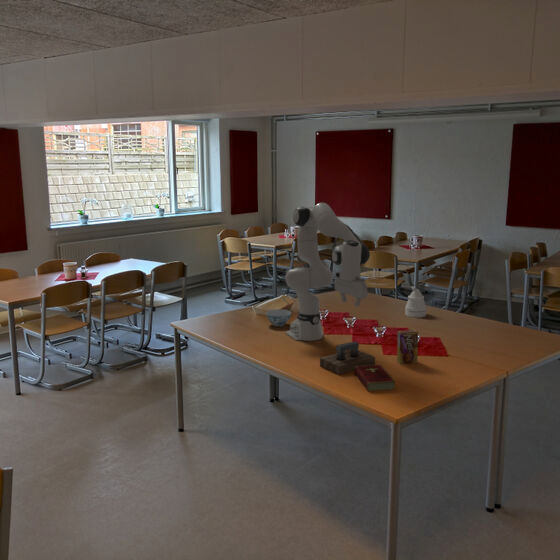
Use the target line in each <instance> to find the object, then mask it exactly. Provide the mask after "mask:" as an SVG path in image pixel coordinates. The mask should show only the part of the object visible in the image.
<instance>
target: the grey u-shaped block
mask: <svg viewBox="0 0 560 560" xmlns="http://www.w3.org/2000/svg"><path fill="white" fill-rule="evenodd" d="M359 347H360V345H359V342H357V341H350V342H346V343H340V344H336V348H335V350H336V354H337V360H339V361H342V360H345V352H346V351H350V356H351V357H353V358H354V357H358V350H359V349H360V348H359Z"/></svg>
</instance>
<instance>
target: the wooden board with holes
mask: <svg viewBox="0 0 560 560" xmlns="http://www.w3.org/2000/svg"><path fill="white" fill-rule="evenodd" d="M366 365H376V356H374V355H371V354H369V353H367V352H365V351H362V350H360V349H358V357H354V358H353V357H351V356H350V350H348V351H345V360H342V361H339V360H337V353H335V354H334V353H333V354H330V355H326V356H322V357H319V366H320V367H321V368H324V369H326V370H328V371H331V372H333V374H336V375H342V374H347V373H350V372H355V366H366Z"/></svg>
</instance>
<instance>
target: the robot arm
mask: <svg viewBox="0 0 560 560" xmlns="http://www.w3.org/2000/svg"><path fill="white" fill-rule="evenodd" d="M292 219H293V223H294V225H296V226H298V227H297V228H298V229H297V244H296V245H297V257H298V258H299V260H301V261H302V262H304V263H307V264H308V265H309V267H296V268H291V269H288V270H287V272H286V274H285V278H284V279H285V284H286V285H287V286H288V287H289V288H290V289H291V290H293V291H294V293H295V294H296V296H297V299H298V310H299V311H298V312H296V314H297V318H296V319H294V321H292V322H291V323H290V326H289V330H286V331H285V334H286V335H287V336H288V337H290V338H292V339H293V340H295V341H307V342H308V341H309V342H311V341H313V342H314V341H318V340H322V339H323V336H324V332H323V328H322V321H321V312H320V298H319V297H318V296H317V295H316V294H314V293H311V292H309V289H311V288H312V289H317V288H318V289H320V288H326V287H329V286H330V285H331V284H332V283H333V279H334V277H335V279H334V290H335V291H336V292H339V294H340V297H341V302H342V303H343V302H344V303H347V296H346V295H348V296H352V297H354V298H355V299H356V301H354V306H355V307H359V306H360V302H361V301H362V299H367V297H368V285H367V281H366V280H365V279H364V278H361V273H362V272H361V265H362V266H363V265H365V264H366V263H367V262H368V261H369V260H370V256H371V253H370V249H369V247H368V246H367V245H366V244H364V242H363V241H362V240H361V239H360V238H359V237H358V236H357V234H356V233H355V232H354V231H353V229H352V228H351V227H350V226H349V225H348V224H347V223H344V221H341V220H340V219H339V217H338V216H337V215H336V214H335V212H334V210H333V209H332V208H331V206H330V205H329V204H327V202H319V203H317V204H316V205H314V206H298V207H296V208H295V209H294V211H293V215H292ZM318 231H319V232H320V233H321V234H322V235H323V236H326V237H331V238H339V239H341V240H344V241H343V242H342V244H340V245H337V246H336V245H335V247H334V248H333V249H332V251H331V261H332V263H334V265H337V266H341V271H336V272H335V273H334V275H333V272H332V270H331V269H330V268H329V267H327V266H326V265H325V264H324V263H323V261H322V260H321V257H320V253H319V241H318Z"/></svg>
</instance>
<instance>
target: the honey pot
mask: <svg viewBox="0 0 560 560" xmlns="http://www.w3.org/2000/svg"><path fill="white" fill-rule="evenodd" d="M410 288H411V290H412V292H411V293H410V295H408V296H407V302H406V304H405V309H404V310H405V311H404V315H405V316H406V315H407V316H406V317H409V316H410V318H423V317H424V318H425V317H427V306H426V302H425V299H424V298H425V296H424V295H423V294H422V292H421V291H420V289H418V288H416V286H411V287H410Z"/></svg>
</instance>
